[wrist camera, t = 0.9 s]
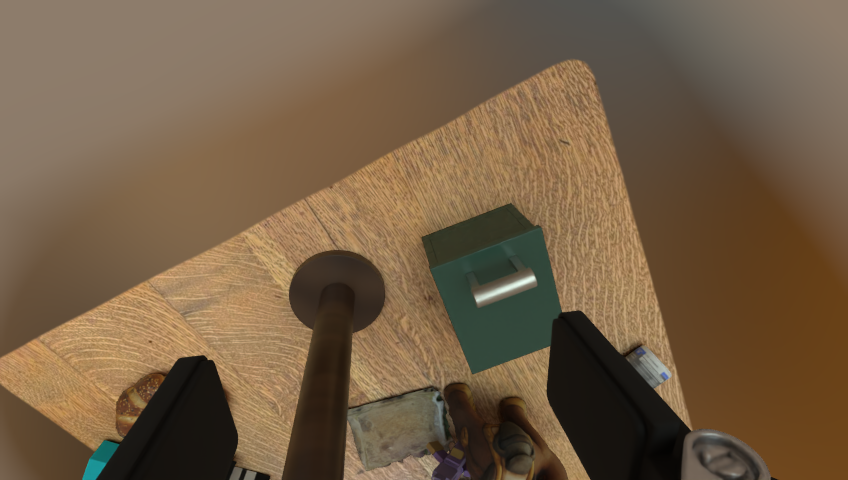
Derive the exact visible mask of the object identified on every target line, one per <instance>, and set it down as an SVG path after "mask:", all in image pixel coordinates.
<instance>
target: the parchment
mask: <svg viewBox="0 0 848 480" xmlns="http://www.w3.org/2000/svg"><path fill="white" fill-rule="evenodd" d="M444 405H445V403H444V401H443V399H441V397H440V392H438V391H436V390H434V388H433V387H432V388H429V389H428V388H427V389H424V390H421V391H417V392H413V393H409V394H405V395H401V396H398V397H394V398H392V399H391V398H389V399H387V400H383V401H379V402H375V403H371V404H367V405H363V406H361V407H358V408H353V409H349V410H348V415H347V420H348V422H349V423H350V426H351V429H352V432H353V436H354V440H355V444H356V447H357V450H358V454H359V457H360V459H361V461H362V463H363V465H364V468H365V470H366V471H370V470H372V469H375V468H380V467H386V466H389V465H390V464H391V463H392V462H397V461H398V462H402V463H403V459H404V458H406V457H408V456H410V455H413V457H420V458H421V457H423V456H424V454H426V455H430V454H431V453H430V452H429V451H428V450H427V448H426V445H427V444H428V442H433V441H439V443H440V444H441V445H442V446H443V447H444V448H445V449H444V450H445V451H446V452H448V451H450V448H449V446H448V445H449V443H450V442H453V443H455V441H454V439H453V438H452V436H451V435H450V433H449V430H448V428H449V427H450V426H449V424H448V421H447V419H446V416H445V415H446V414H447V411H446V409H445V407H444ZM455 444H456V443H455Z"/></svg>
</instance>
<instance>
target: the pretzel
mask: <svg viewBox="0 0 848 480" xmlns="http://www.w3.org/2000/svg"><path fill="white" fill-rule="evenodd" d="M165 377H166V376H163V375H161V374H150V375H147V376H145V377H144V378H142V379H141V380H140V381H138V382H137V383H136V384H135V385H134V387H131V388H129V389H127V390H125V391H123V393H122V394H121V396H120V397H119V399H118V401H117V404H116V405H117V406H116V429H117V431H118V434H119V435H120V436H122V437H123V438H124V437H125V436H126V434H127V433H128V432H129V430H130V429H131V427H132V426H133V424H134V423H135V421H136V420H137V418H138V417H139V415H140V414H141V412H142V411H143V410H144V408H145V407H146V405H147V404H148V402H149V401H150V399H151V398H152V396H153V395H154V393H155V392H156V391H157V389H158V388H159V386H160V385H161V383H162V382H163V380H164V379H165ZM225 396H226V395H225ZM226 399H227V398H226Z"/></svg>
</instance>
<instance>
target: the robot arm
mask: <svg viewBox="0 0 848 480" xmlns="http://www.w3.org/2000/svg"><path fill="white" fill-rule="evenodd" d="M547 397H548V401H549V404H550V406H551V407H552V409H553V411H554V413H555V415H556V417H557V419H558V420H559V422H560V424H561V426H562V428H563V430H564V431H565V433H566V435H567V437H568V439H569V441H570V443H571V444H572V446H573V448H574V450H575V452H576V454H577V455H578V457H579V459H580V461H581V463H582V465H583V466H584V468H585V470H586V472H587V474H588V476H589V478H590V479H591V480H777V479H775V478H772V477H770V473H769V470H768V468H767V465H766V464H765V462H764V461H763V460H762V458H761V457H760V456H759V455H758V454H757V453H756V452H755V451H754V450H753V449H752V448H750V447H749V446H748V445H747V444H745V443H743V442H742V441H740V440H739V439H737V438H735V437H733V436H730V435H728V434H726V433H724V432H720V431H716V430H711V429H699V430H694V431H691V430H690V429H689V428H688V427H687V426H686V425H685V424H684V422H683V421H682V420H681V419H680V418H679V417H678V416H677V415H676V414H675V412H674V411H673V410H672V409H671V408H670V407H669V406H668V405H667V403H666V402H665V401H664V400H663V399H662V398H661V397H660V396H659V395H658V393H657V392H656V391H655V390H654V389H653V388H652V387H651V386H650V385H649V383H648V382H647V381H646V380H645V379H644V378H643V377H642V376H641V375H640V373H639V372H638V371H637V370H636V369H635V368H634V367H633V366H632V365H631V363H630V362H629V361H628V360H627V359H626V358H625V357H624V356H623V355H621V354H619V352H618V351H617V350H616V349H615V348H614V347H613V346H612V345H611V343H610V342H609V341H608V340H607V339H606V338H605V337H604V336H603V334H602V333H601V332H600V331H599V330H598V329H597V328H596V327H595V325H594V324H593V323H592V322H591V321H590V320H589V319H588V318H587V316H586V315H585V314H584V313H583V312H582V311H571V312H562V313H560V314H559V315H558V318H556V319H554V320H553V323H552V334H551V346H550V357H549V369H548V381H547ZM237 445H238V433H237V430H236V427H235V424H234V421H233V418H232V415H231V411H230V408H229V405H228V402H227V399H226V396H225V393H224V390H223V387H222V384H221V381H220V378H219V375H218V372H217V369H216V366H215V363H214V361H213V360H208V359H207V358H206V357H205V356H203V355H201V356H192V357H184V358H180V359H178V360H177V361H176V363H175V364H174V366H173V367H172V369H171V370H170V371H169V373H168V374H167V376H166V377H165V379H164V380H163V382H162V383H161V385H160V386H159V388H158V389H157V391H156V392H155V393H154V395H153V396H152V398H151V399H150V401H149V402H148V404H147V405H146V407H145V408H144V410H143V411H142V412H141V414H140V415H139V417H138V418H137V420H136V421H135V423H134V424H133V426H132V427H131V429H130V430H129V432H128V433H127V434H126V436H125V437H124V439H123V440H122V442H121V443H120V445H119V446H118V448H117V449H116V451H115V452H114V453H113V455H112V456H111V458H110V459H109V461H108V462H107V464H106V465H105V467H104V468H103V470H102V471H101V473H100V474H99V475H98V477H97V478H96V480H225V479H226V477H227V474H228V471H229V468H230V466H231V463H232V460H233V457H234V454H235V452H236V449H237Z"/></svg>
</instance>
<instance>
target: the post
mask: <svg viewBox="0 0 848 480" xmlns="http://www.w3.org/2000/svg"><path fill="white" fill-rule="evenodd" d="M289 300H290V304H291V307H292V310H293V311H294V313H295V315H296V316H297V318H298V319H299V320H300V321H301V322H302V323H303V324H305V325H306V326H307V327H309V328H311V329H313V333H312V338H311V343H310V347H309V352H308V357H307V362H306V366H305V371H304V376H303V381H302V385H301V390H300V395H299V399H298V404H297V409H296V414H295V418H294V423H293V428H292V433H291V437H290V442H289V447H288V452H287V456H286V461H285V466H284V471H283V475H282V480H343V478H344V462H345V447H346V431H347V415H348V399H349V383H350V367H351V351H352V335H353V333H355V332H358V331H360V330H362V329H364V328H366V327H367V326H369V325H370V324H371V323H372V322H373V321H374V320H375V319H376V318H377V317H378V315H379V314H380V312H381V310H382V308H383V305H384V300H385V290H384V282H383V279H382V276H381V274H380V273H379V271H378V270H377V268H376V267H375V266H374V265H373V264H372V263H371V262H370V261H369V260H367V259H366V258H364V257H362V256H360V255H358V254H356V253H352V252H348V251H341V250H334V251H326V252H322V253H319V254H316V255H314V256H312V257H311V258H309V259H307V260H306V261H305V262H304V263H302V265H301V266H300V267H299V268H298V269H297V271H296V272H295V274H294V277H293V279H292V282H291V285H290V290H289Z"/></svg>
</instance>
